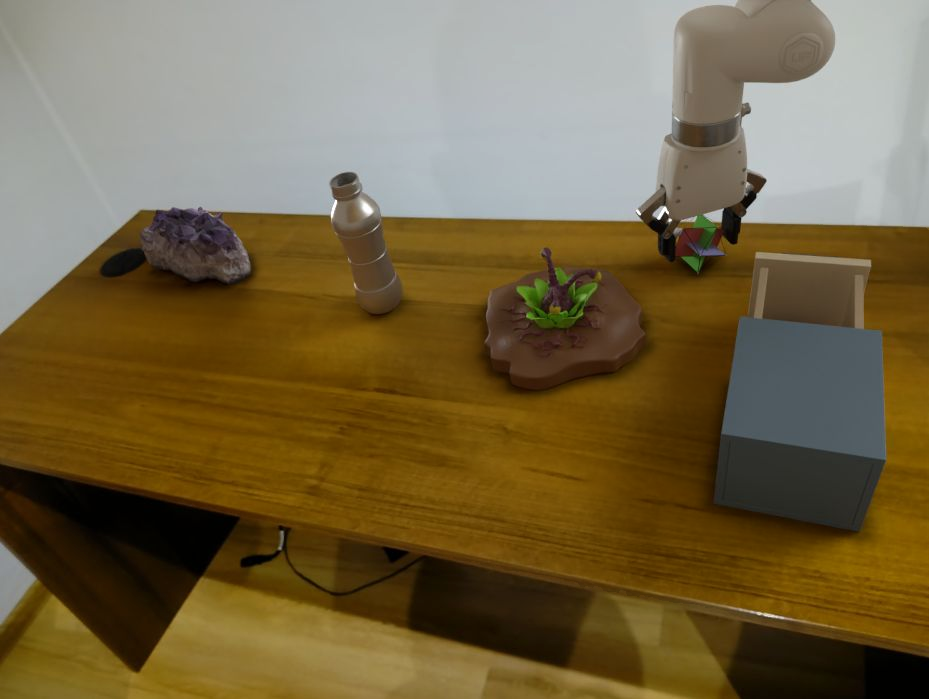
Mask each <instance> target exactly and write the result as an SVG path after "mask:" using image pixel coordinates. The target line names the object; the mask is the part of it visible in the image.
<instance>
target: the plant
mask: <svg viewBox="0 0 929 699" xmlns="http://www.w3.org/2000/svg"><path fill="white" fill-rule="evenodd" d="M552 254H553V252H552V249H551V248H550V247H543V248H542V249H541V250H540V252H539V256H540V258H541V259H542V260H546V261H545V262H546V265H547V269H546V270H540V271H534V272H529V273H527V274H525V275H524V276H523V277H521V278H520V279H518V280H516V281H513V282H510V283H507V284H503V285H502V286H499V287H496V288H493V289H491V290H490V291H489V296H488V297H487V302H486V303H487V304H486V305H487V310H486V313H485V319H486V326H487V329H488V335H487V337H486V339H485V341H484V342H483V349H484V354H485V355H486V356H489V357H490V362H491V365H492V368H493V370H494V371H495V372H498V373H503V374H509V380H510V383H511V385H512V386H515V387H518V388H521V389H525V390H532V391H542V390H547V389H550V388H554V387H556V386H559V385H561V384H564V383H566V382H568V381H571V380H574V379H579V378H582V377H587V376H592V375H596V374H603V373H604V374H605V373H614V372H617V371H618V370H619V369H620V368H621V367H624V366H625V365H628V364H629V363H630V362H633V360H634V359H635V357H636V356H637V355H638V353H639V352H641V351H642V350H643V349H645V348H646V347H647V334H646V332H645V331H644V329H642V327H640V326H641V325H642V323H643V310H642V307H641V305H640V304H639V302H638V301H636V300H635V299H634V298H633V296H632V295H631V294H630V293H629V292H628V290H627V289H626V287H625V286H624V285H623V284H622V283H621V282H620V280H619V279H618V278H617V277H616V276H614V275H613V274H612V273H611V272H610V271H608V270H607V269H600V268H599V269H598V268H597V269H596V268H588V267H576V266H570V267H569V266H567V267H556V268H555V264H554V262H553V260H552V256H553V255H552Z"/></svg>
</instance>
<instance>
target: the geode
mask: <svg viewBox="0 0 929 699" xmlns="http://www.w3.org/2000/svg"><path fill="white" fill-rule="evenodd" d="M139 241H140V243H141V245H142V247H141V250H142V251H143V253H144V256H145V258H146V260H147V262H148V264H149V267H151V268H153V269H155V270H157V271H158V270H159V271H161V270H164V271H171V272H172V273H174V274H175V275H176V276H179V277H182V278H185V279H187V280H188V281H190V282H192V283H197V282H202V281H205V280H206V279H209V280H210V279H211V280H217V281H220V282H221V283H223V284H225V285H230V284H234V283H236V282H239V281H242V280H244V279H245V278H247V277H249V276H251V274H252V271H253V270H252V269H253V268H252V265H251V264H252V263H251V261H250V257H249V254H248V251H247V250H246V248H245V247H244V245H243V242H242V240H241V239H240V237H239V236H238V234H237V232H236V231H235V230H234V229H233V228H232V227H231V226H230V225H227V224H226V222H225V221H224V220H223V212H222V211H220V212H218V213H217V214H215V215H213V214H211V213H210V212H209V211H207V210H206V209H203V207H202V206H199V207H198V208H185V209H182V208H179V207H174V206H173V207H171V208H170V209H168V211H166V210H160V209H158V208H157V209H156V210H155V214H154V216H153V218H152V222H151V224H150V225H148V226H146V227H144V228H142V230H141V231H140V232H139Z"/></svg>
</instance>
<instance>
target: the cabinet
mask: <svg viewBox="0 0 929 699" xmlns="http://www.w3.org/2000/svg"><path fill="white" fill-rule="evenodd" d="M883 353H884V352H883V331H882V330H878V329H877V330H876V329H868V328H867V329H866V328H864V329H858V328H848V327H839V326H829V325H819V324H810V323H800V322H790V321H780V320H770V319H760V318H751V317H748V316H739V319H738V325H737V332H736V337H735V344H734V350H733V357H732V363H731V369H730V375H729V383H728V388H727V394H726V399H725V400H726V401H725V408H724V414H723V419H722V426H721V432H720V439H719V440H720V441H719V450H718V460H717V469H716V478H715V488H714V497H713V504H714V505H719V506H723V507H728V508H734V509H740V510H745V511H750V512H754V513H759V514H765V515H769V516H770V515H771V516H775V517H780V518H785V519H790V520H796V521H801V522H805V523H810V524H816V525H820V526H827V527H832V528H837V529H842V530H845V531H846V530H848V531H852V532H857V533H860V532H861V530H862V527H863V525H864V522H865V519H866V518H867V514H868V511H869V508H870V507H871V503H872V500H873V498H874V495H875V492H876V489H877V487H878V484H879V481H880V479H881V475H882V472H883V471H884V467H885V465H886V463H887V442H886V441H887V440H886V416H885V415H886V414H885V413H886V410H885V384H884V357H883V355H884V354H883Z"/></svg>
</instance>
